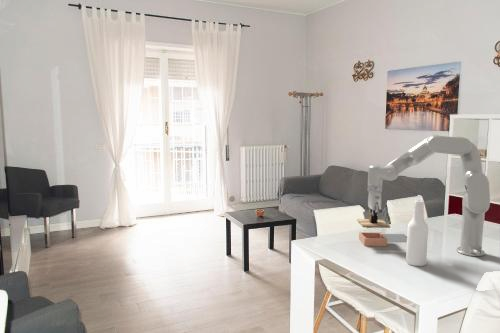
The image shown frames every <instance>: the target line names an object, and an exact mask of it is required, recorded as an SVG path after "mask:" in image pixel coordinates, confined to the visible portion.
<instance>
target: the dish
mask: <svg viewBox="0 0 500 333" xmlns="http://www.w3.org/2000/svg"><path fill="white" fill-rule="evenodd" d="M383 234H384V233H382V232H377V231H376V232H372V231H369V232H368V231H367V232H366V231H360V232H358V240H359V241H360V242H361V244H362V245H363V246H364V247H366V246H367V247H368V246H369V247H374V246H375V247H388V242H387V238H386V237H385V236H384V235H383Z"/></svg>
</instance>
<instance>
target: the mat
mask: <svg viewBox="0 0 500 333" xmlns="http://www.w3.org/2000/svg"><path fill="white" fill-rule="evenodd" d="M382 234H383V235H384V236H385V237H386V238H387V243H407V235H406V234H404V233H382Z"/></svg>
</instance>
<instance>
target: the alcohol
mask: <svg viewBox="0 0 500 333" xmlns="http://www.w3.org/2000/svg"><path fill="white" fill-rule="evenodd" d="M424 203H425V201H424V200H421V199H416V200H414V208H413V213H412V214H413V215H412V219H411V220H410V221H409V222H408V225H407V233H406V234H407V235H406V236H407V242H406V253H405V254H406V255H405V261H406V263H407V264H408V265H410V266H413V267H425V265H426V264H427V256H428V255H427V253H428V236H429V226H428V223H427V222H426V221H425V219H424V218H425V211H424V205H425V204H424Z"/></svg>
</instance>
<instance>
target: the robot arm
mask: <svg viewBox="0 0 500 333" xmlns="http://www.w3.org/2000/svg"><path fill="white" fill-rule="evenodd" d="M435 153H437V154H447V155H456V156H459V157H460V159H461V165H462V182H463V184H464V186H465V188H466V192H465V194H464V195H463V197H462V199H461V200H462V204H461V205H462V208H461V209H462V215H461V216H462V217H461V231H460V244H459V245H460V246H458V247H456V252H458V253H460V254H462V255H466V256H468V257H469V256H470V257H483V256H485V255H486V251H484V250H483V249H482V248H483V247H482V246H483V235H484V223H485V213H486V212H488V211H489V209H490V206H491V195H490V193H491V192H490V183H489V182H490V181H489V179H488V177H487V176H486V174H484V172H483V163H482V156H481V153H480V150H479V149H478V147H477V146H476V145H475V144H474V143H473V142H472V141H471V140H470V139H468V138H467V137H464V136H446V135H439V134H431V135H429V136H428V137H426V138H424V140H422V141H420V142H419V143H417V144H416V145H415V146H413V147H411V148H410V149H408V150H407V151H406V152H404V153H402V154H401V155H400V156H399V157H397V158H395V159H394V160H392V161H391V162H389V163H388V164H386V165H385V166H381V165H376V164H371V165H369V166H368V170H367V192H368V196H367V206H368V208H369V210H368V212H369V213H372V215H371V223H377V220H378V219H379V218H378V217H379V211H381V210H382V192H383V181H384V180H385V181H389V182H391V181H395V180H396V179H398V177H399V174H400V173H402V172H404V171H405V170H407V169H409V168H411V167H413V166H417V165H419V164H420V163H421V164H422V162H424V161H425V160H427V159H428V158H429V157H431V156H433V155H434V154H435ZM369 213H368V214H369Z"/></svg>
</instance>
